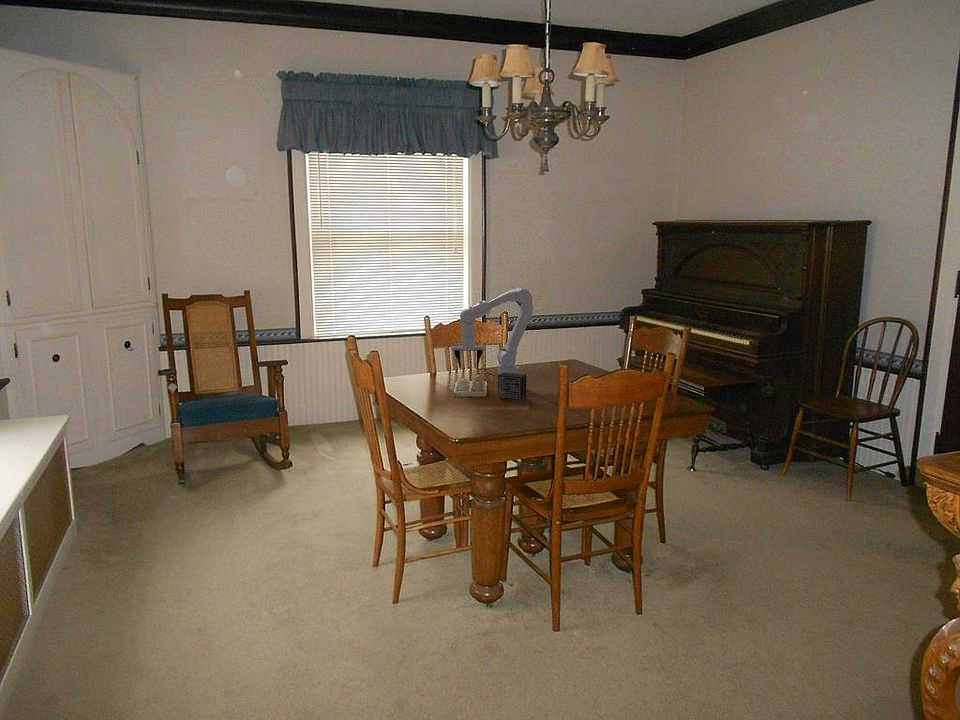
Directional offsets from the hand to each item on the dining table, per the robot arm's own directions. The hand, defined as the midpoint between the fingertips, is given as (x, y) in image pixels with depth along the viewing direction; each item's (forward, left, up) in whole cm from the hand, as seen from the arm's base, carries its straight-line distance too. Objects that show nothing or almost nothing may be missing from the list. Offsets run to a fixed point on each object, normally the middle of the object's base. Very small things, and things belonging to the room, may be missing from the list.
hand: (468, 367), depth 314 cm
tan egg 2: (-4, +15, -8) cm, 18 cm away
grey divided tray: (-1, +9, -9) cm, 13 cm away
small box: (-19, +19, -10) cm, 28 cm away
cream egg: (+2, +9, -8) cm, 12 cm away
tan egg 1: (-4, +2, -8) cm, 10 cm away
